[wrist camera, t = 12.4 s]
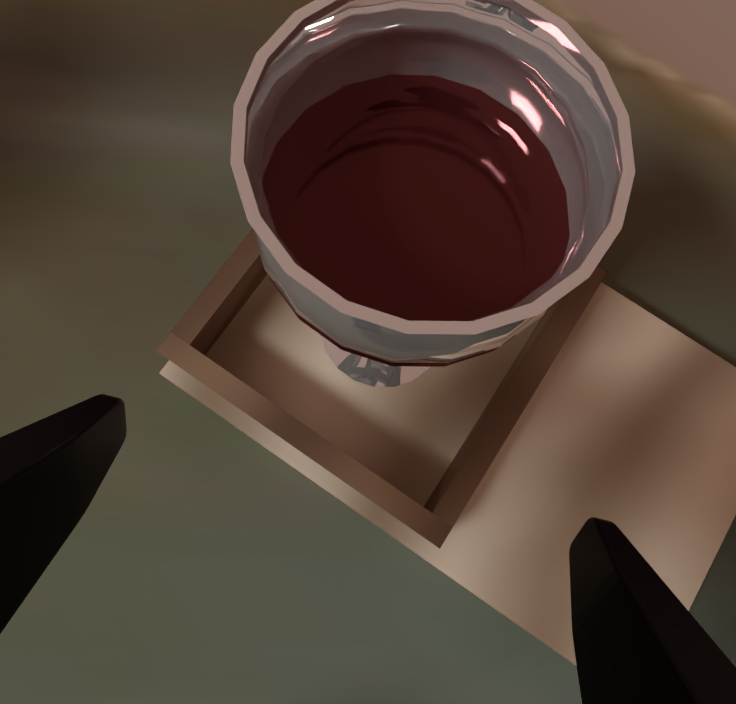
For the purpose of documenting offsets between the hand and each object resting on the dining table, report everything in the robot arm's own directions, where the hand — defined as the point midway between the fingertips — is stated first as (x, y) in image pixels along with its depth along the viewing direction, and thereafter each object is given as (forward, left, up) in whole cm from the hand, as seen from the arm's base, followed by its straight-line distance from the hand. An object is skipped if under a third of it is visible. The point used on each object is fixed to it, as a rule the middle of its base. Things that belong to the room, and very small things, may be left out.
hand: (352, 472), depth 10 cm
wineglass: (+2, -5, -10) cm, 11 cm away
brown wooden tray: (-3, -5, -11) cm, 12 cm away
